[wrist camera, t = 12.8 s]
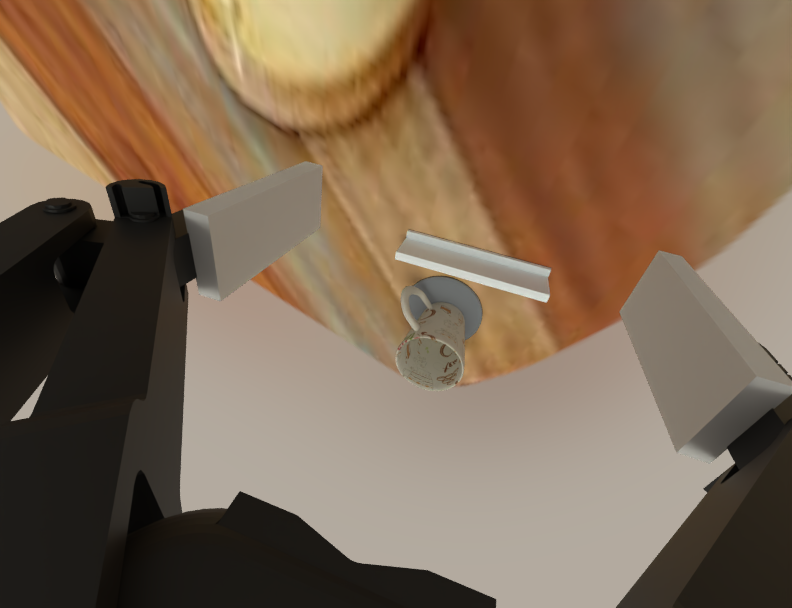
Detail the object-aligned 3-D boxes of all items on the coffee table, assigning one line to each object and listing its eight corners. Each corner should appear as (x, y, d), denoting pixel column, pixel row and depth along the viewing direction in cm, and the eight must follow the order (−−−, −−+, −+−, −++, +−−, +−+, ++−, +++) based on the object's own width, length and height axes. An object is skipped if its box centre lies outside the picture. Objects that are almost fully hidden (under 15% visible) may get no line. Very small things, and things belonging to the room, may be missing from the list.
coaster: (412, 266, 48) (411, 267, 48) (492, 289, 47) (492, 291, 46) (399, 329, 55) (398, 330, 54) (469, 351, 53) (469, 353, 53)
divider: (408, 229, 46) (397, 243, 42) (550, 267, 43) (553, 287, 39) (404, 250, 48) (393, 266, 43) (541, 288, 45) (543, 309, 41)
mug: (434, 350, 54) (419, 398, 46) (387, 284, 51) (361, 324, 43) (484, 332, 50) (476, 381, 42) (436, 259, 46) (418, 297, 38)
